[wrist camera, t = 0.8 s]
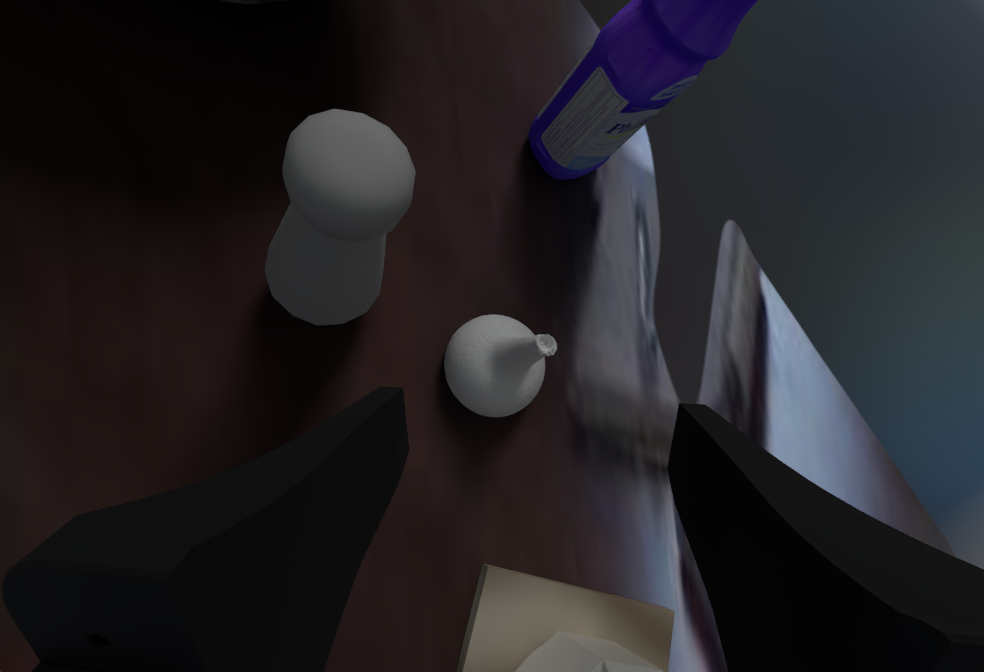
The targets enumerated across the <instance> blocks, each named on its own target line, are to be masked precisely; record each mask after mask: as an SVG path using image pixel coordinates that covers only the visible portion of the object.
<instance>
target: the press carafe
mask: <svg viewBox="0 0 984 672" xmlns="http://www.w3.org/2000/svg"><path fill="white" fill-rule="evenodd" d="M513 672H663V670H661V669H659V668H657V667H656V666H654V665H652V664H651V663H649V662H647V661H645V660H644V659H642V658H640V657H639V656H637V655H635V654H634V653H632V652H630V651H628V650H627V649H625V648H623V647H622V646H620V645H618V644H616V643H615V642H613V641H608V640H603V639H598V638H593V637H588V636H583V635H578V634H573V633H568V632H563V631H558V632H557V633H556V634H555V635H554V636H553V637H552V638H550V639H549V640H547V641H545V642H543V643H542V644H540V645H538V646H537V647H536V648H535V649H533V650H532V651H531V652H530V653H529V654H528V655H527V656H526V657H525V658H524V659H523V660H522V661H521V662H520V663H519V665H518V666H517V667H516V669H515V670H514V671H513Z"/></svg>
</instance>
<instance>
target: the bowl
mask: <svg viewBox="0 0 984 672" xmlns="http://www.w3.org/2000/svg"><path fill="white" fill-rule="evenodd" d="M221 1H226V2H231V3H239V4H260V3H268V2H281V1H289V0H221Z"/></svg>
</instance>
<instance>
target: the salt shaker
mask: <svg viewBox="0 0 984 672" xmlns="http://www.w3.org/2000/svg"><path fill="white" fill-rule="evenodd" d="M282 172H283V180H284V183H285V186H286V189H287V192H288V195H289V198H290V202H291V203H290V205H289V207H288V209H287V211H286V213H285V215H284V217H283V219H282V221H281V223H280V225H279V228H278V230H277V232H276V234H275V236H274V238H273V240H272V242H271V244H270V246H269V250H268V255H267V260H266V266H265V274H266V277H267V280H268V284H269V287H270V290H271V294H272V296H273V297H274V298H275V299H276V300H277V301H278V302H279V303H280V304H281V305H282V306H283V307H284V308H285V309H286V310H287V311H288V312H289V313H290V314H292V315H293V316H295V317H297V318H300V319H302V320H305V321H307V322H310V323H312V324H314V325H317V326H319V325H335V324H344V323H346V322H348V321H350V320H352V319H354V318H356V317H358V316H360V315H362V314H364V313H366V312H367V311H368V309H369V308H370V307H371V305H372V304H373V302H374V301H375V300H376V298H377V297H378V295H379V294H380V289H381V282H382V275H383V265H384V253H385V241H386V233H388V232H390V231H392V230H393V229H394V227H395V226H396V225H397V223H398V222H399V221H400V219H401V218H402V217H403V215H404V214H405V213H406V211H407V210H408V208H409V207H410V205H411V200H412V193H413V186H414V179H415V169H414V166H413V163H412V161H411V158H410V155H409V153H408V150H407V148H406V146H405V145H404V144H403V143H402V142H401V141H400V140H399V138H398V137H397V136H396V135H395V134H394V133H393V132H392V130H391V129H390V128H389V127H388V126H386V125H384V124H382V123H380V122H378V121H376V120H375V119H373V118H371V117H369V116H367V115H365V114H363V113H358V112H352V111H346V110H340V109H332V110H328V111H324V112H321V113H317V114H314V115H310V116H308V117H307V118H306V119H305V120H304V121H303V122H302V123H301V124H300V125H299V126H298V127H297V128H296V129H295V130H293V131H292V132H291V134H290V137H289V140H288V142H287V147H286V152H285V157H284V162H283V167H282Z"/></svg>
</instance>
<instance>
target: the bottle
mask: <svg viewBox="0 0 984 672" xmlns="http://www.w3.org/2000/svg"><path fill="white" fill-rule="evenodd" d="M757 1H758V0H633V1H631V2H630V3H628V4H627V5H626V6H625V7H623V8H622V9H621V10H620V11H619V12H618V13H617V14H616V15H615V16H614V17H613V18H612V19H611V20H610V21H609V22H608V23H607V24H606V25H605V27H604V28H603V29H602V30H601V31H600V33H599V34H598V36H597V38H596V39H595V41H594V42H593V43H592V44H591V46H590V47H589V48H588V50H587V51H586V52H585V54H584V55H583V56H582V58H581V59H580V60H579V62H578V63H577V64H576V66H575V67H574V68H573V70H572V71H571V72H570V74H569V75H568V76H567V78H566V79H565V80H564V81H563V83H562V84H561V85H560V87H559V88H558V89H557V91H556V92H555V93H554V95H553V96H552V97H551V99H550V100H549V101H548V102H547V104H546V105H545V106H544V108H543V109H542V110H541V111H540V113H539V114H538V115H537V116H536V118H535V119H534V121H533V123H532V125H531V128H530V131H529V142H530V146H531V149H532V152H533V154H534V155H535V157H536V158H537V160H538V162H539V164H540V166H541V167H542V168H543V169H544V170H545V172H546V173H548V174H549V175H550V176H551V177H552V178H553V179H558V180H569V179H574V178H578V177H581V176H583V175H585V174H588V173H590V172H592V171H593V170H595V169H597V168H598V167H600V166H601V165H602V164H604V163H605V162H606V161H607V160H608V159H609V157H610V156H611V155H612V154H613V153H614V152H615V151H616V150H617V149H618V148H620V147H621V146H622V145H623V144H624V143H625V142H626V141H627V140H628V139H629V138H630V137H631V136H632V135H634V134H635V133H636V132H637V131H638V130H639V129H640V128H641V127H642V126H644V125H645V124H646V123H647V122H648V121H649V120H650V119H651V118H652V117H653V116H654V115H656V114H657V113H658V112H659V111H660V110H661V109H662V108H663V107H664V106H666V104H668V103H669V102H670V101H671V100H672V99H673V98H674V97H676V95H678V94H679V93H681V92H682V91H684V90H685V89H687V88H688V87H689V86H690V85H691V84H692V83H693V82H694V80H695V79H696V78H697V77H698V75H699V73H700V71H701V70H702V68H703V67H704V65H705V63H706V62H707V60H712V59H715V58H717V57H719V56H720V55H721V54H723V53H724V52H725V51H726V50H727V48H728V47H729V45H730V43H731V40H732V38H733V35H734V33H735V30H736V29H737V27H738V25H739V23H740V21H741V20H742V19H743V17H744V15H745V14H746V13H747V12H748V11H749V10H750V8H751V7H752V6H753V5H754V4H755V3H756V2H757Z"/></svg>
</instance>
